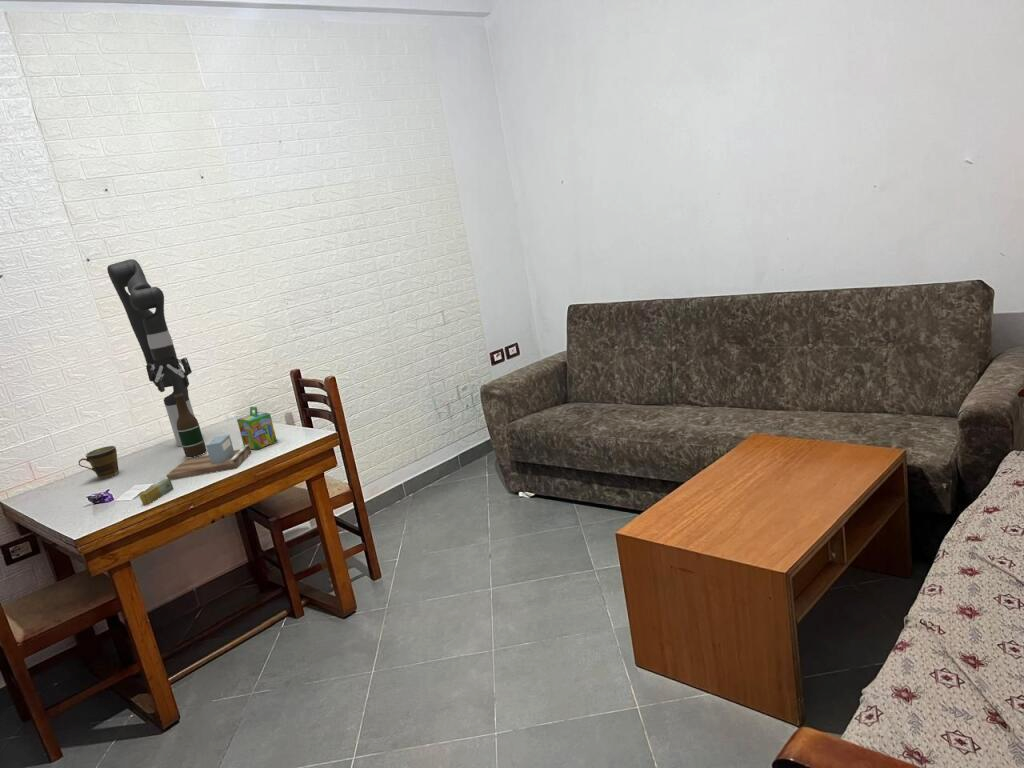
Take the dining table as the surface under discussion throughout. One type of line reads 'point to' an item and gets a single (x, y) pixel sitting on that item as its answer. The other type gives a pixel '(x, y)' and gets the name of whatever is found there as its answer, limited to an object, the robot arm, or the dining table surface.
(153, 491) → the medication box
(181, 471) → the wooden tray
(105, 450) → the ceramic cup
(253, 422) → the colorful gift box
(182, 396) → the beer bottle
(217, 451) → the tea carton
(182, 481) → the dining table surface
